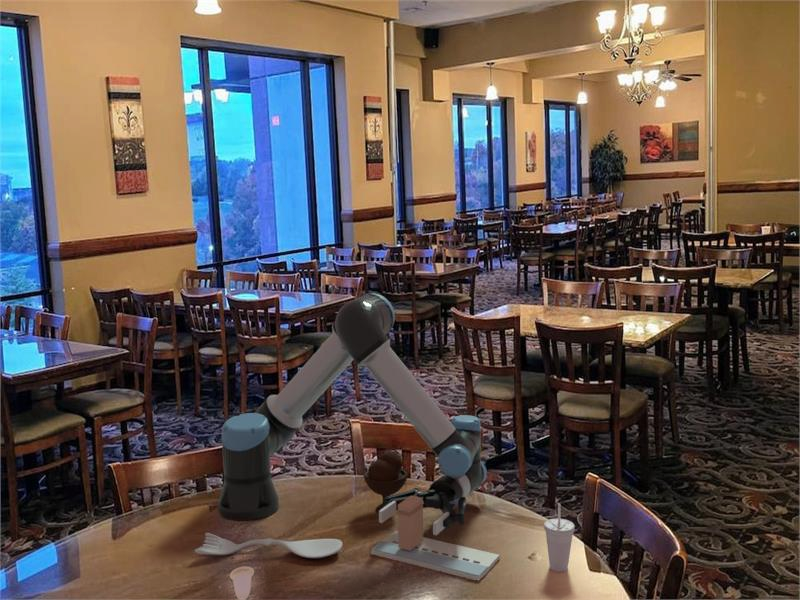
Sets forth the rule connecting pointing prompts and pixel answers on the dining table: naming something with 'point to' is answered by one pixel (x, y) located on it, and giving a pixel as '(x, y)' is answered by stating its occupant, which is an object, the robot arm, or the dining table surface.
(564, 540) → the smoothie
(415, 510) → the small tan carton
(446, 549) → the board
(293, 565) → the dining table surface
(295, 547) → the spoon
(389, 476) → the ice cream bowl
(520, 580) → the dining table surface
